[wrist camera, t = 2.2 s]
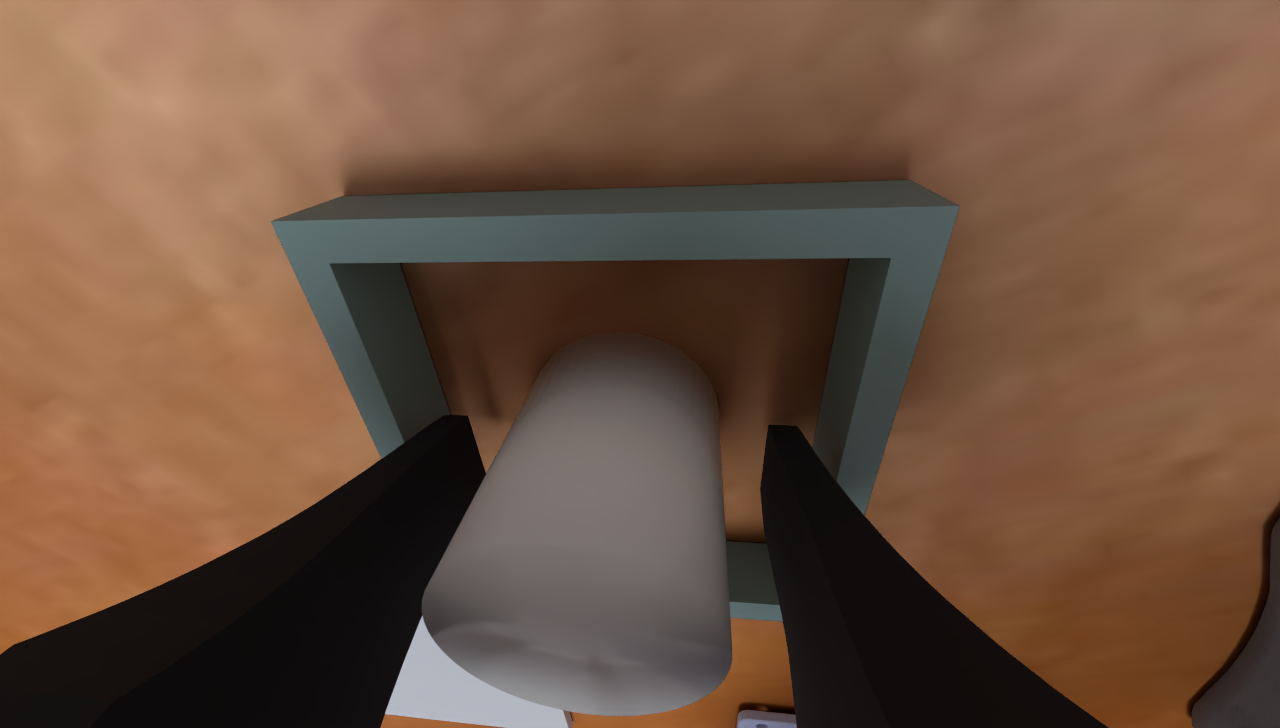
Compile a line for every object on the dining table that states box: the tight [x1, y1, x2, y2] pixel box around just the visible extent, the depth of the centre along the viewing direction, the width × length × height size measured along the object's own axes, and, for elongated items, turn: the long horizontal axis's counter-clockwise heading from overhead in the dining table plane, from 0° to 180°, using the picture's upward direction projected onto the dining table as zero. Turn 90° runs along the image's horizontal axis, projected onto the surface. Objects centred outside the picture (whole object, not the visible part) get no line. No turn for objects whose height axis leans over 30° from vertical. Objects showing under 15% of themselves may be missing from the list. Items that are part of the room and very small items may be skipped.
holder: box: [271, 180, 960, 622], centre depth 12 cm, size 12×12×2 cm
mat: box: [385, 615, 573, 728], centre depth 21 cm, size 12×12×1 cm
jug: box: [422, 332, 732, 716], centre depth 10 cm, size 7×5×6 cm
